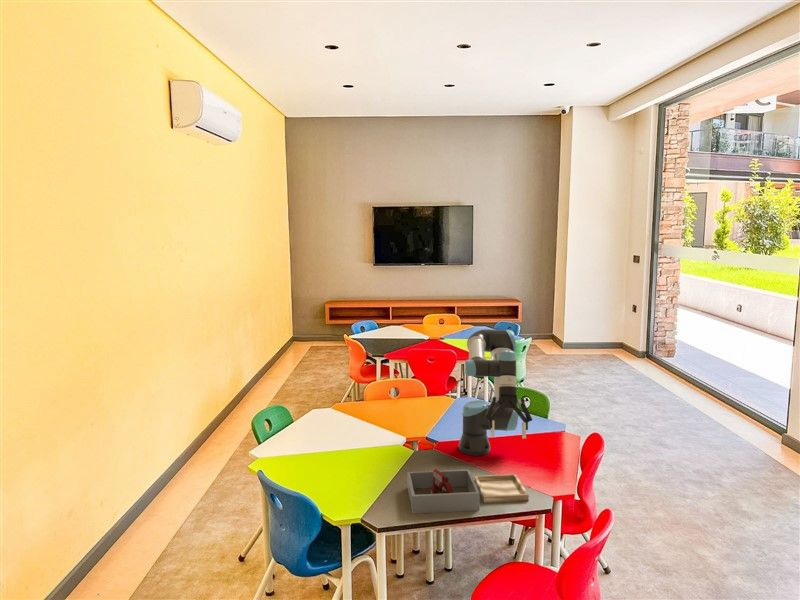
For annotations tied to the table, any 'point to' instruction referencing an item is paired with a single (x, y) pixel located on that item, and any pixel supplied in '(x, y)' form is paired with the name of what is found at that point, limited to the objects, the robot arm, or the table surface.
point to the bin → (445, 500)
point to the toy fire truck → (440, 483)
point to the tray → (500, 488)
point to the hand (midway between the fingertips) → (508, 437)
